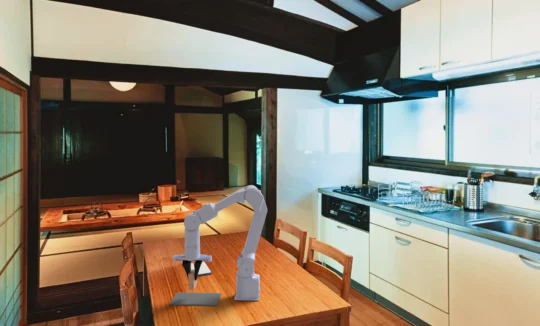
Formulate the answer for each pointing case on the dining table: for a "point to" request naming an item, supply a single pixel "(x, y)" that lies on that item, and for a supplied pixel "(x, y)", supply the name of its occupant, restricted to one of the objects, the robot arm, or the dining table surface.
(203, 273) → the phone case
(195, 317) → the dining table surface
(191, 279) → the tile
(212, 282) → the dining table surface
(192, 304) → the mat
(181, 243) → the dining table surface
